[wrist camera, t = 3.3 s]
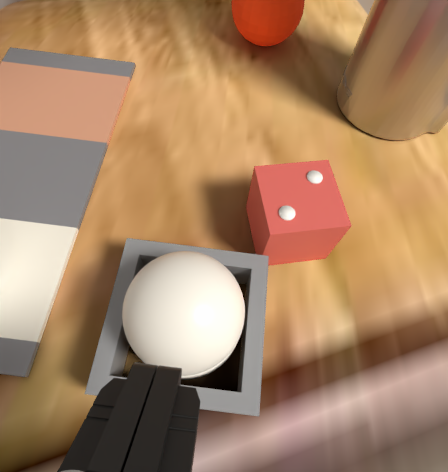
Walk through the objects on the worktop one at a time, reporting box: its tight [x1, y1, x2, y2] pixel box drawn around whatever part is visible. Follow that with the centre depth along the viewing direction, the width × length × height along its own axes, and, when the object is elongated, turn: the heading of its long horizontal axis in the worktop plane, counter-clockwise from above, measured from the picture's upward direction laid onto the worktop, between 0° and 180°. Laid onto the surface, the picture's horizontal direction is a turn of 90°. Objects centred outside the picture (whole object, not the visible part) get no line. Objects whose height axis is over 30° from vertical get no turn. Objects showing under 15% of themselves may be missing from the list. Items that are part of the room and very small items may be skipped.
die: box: [246, 160, 351, 265], centre depth 24 cm, size 5×5×5 cm
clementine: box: [232, 0, 305, 46], centre depth 33 cm, size 8×7×7 cm
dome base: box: [85, 238, 269, 416], centre depth 21 cm, size 9×9×3 cm
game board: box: [0, 48, 135, 377], centre depth 27 cm, size 12×28×1 cm, turn 173°
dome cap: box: [122, 251, 245, 380], centre depth 18 cm, size 6×6×6 cm
